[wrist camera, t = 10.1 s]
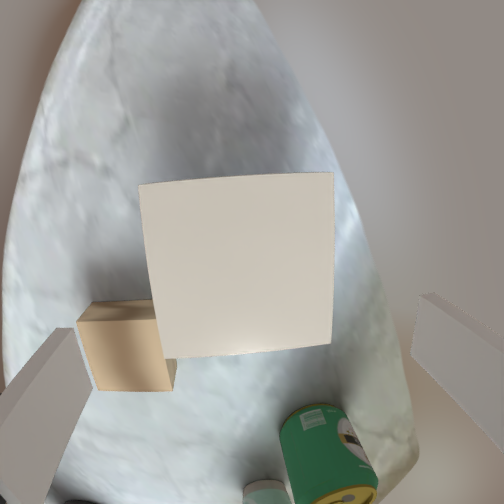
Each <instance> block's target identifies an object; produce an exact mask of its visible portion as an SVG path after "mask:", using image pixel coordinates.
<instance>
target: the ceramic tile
mask: <svg viewBox="0 0 504 504" xmlns="http://www.w3.org/2000/svg"><path fill="white" fill-rule="evenodd" d="M138 191H139V201H140V211H141V220H142V229H143V237H144V245H145V252H146V259H147V266H148V273H149V280H150V286H151V292H152V298H153V304H154V309H155V315H156V320H157V325H158V331H159V336H160V341H161V345H162V350H163V355H164V359H176V358H196V357H212V356H226V355H238V354H249V353H259V352H269V351H277V350H286V349H294V348H302V347H309V346H316V345H323V344H330V343H331V335H332V317H333V294H334V252H335V210H334V172H294V173H270V174H250V175H234V176H220V177H207V178H195V179H184V180H174V181H164V182H155V183H146V184H141V185H138Z"/></svg>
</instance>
